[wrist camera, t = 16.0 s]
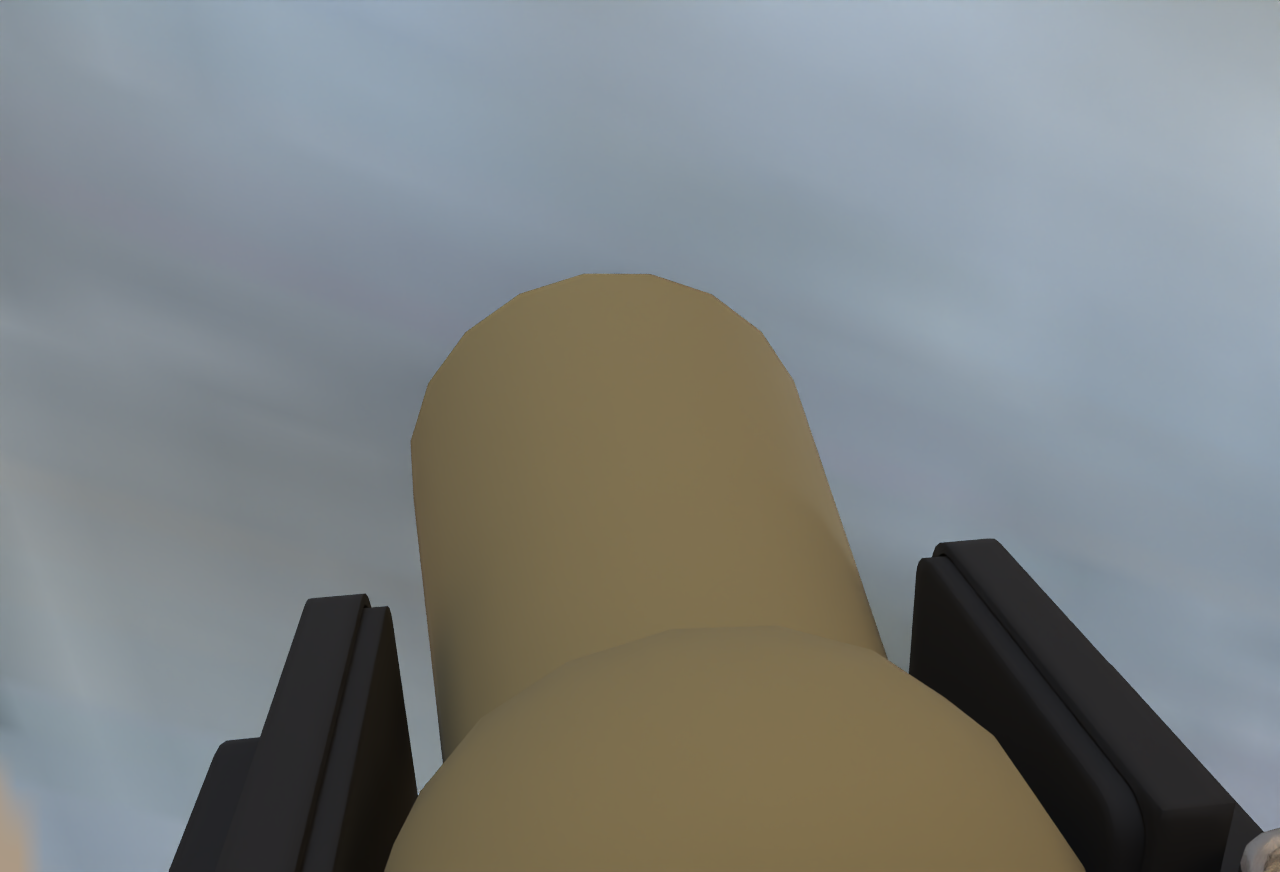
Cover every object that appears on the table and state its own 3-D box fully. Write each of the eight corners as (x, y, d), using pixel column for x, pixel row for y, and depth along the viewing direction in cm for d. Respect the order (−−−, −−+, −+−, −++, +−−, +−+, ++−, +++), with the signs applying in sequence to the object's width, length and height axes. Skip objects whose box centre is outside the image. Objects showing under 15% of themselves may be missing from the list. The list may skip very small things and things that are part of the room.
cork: (389, 617, 17) (200, 1574, 6) (435, 239, 14) (262, 779, 4) (758, 655, 18) (1092, 1528, 8) (851, 306, 16) (1489, 870, 5)
